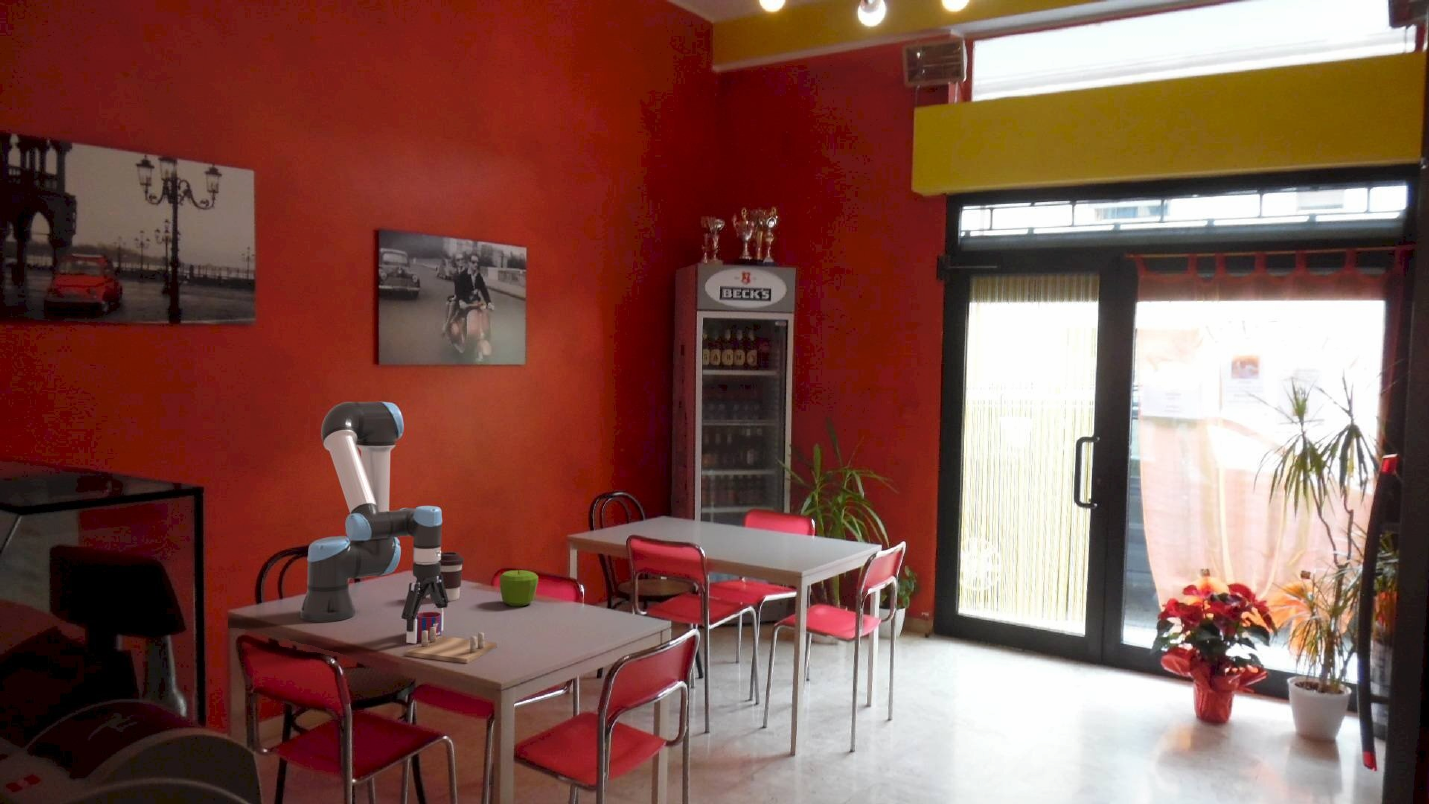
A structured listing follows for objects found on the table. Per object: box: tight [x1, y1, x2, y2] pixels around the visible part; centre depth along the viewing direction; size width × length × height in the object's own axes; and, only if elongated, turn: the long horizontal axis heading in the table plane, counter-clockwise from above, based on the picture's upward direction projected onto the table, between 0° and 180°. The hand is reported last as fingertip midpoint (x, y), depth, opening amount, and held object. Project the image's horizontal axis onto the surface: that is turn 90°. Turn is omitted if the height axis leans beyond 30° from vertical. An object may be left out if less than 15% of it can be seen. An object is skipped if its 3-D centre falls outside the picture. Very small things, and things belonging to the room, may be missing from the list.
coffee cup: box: [439, 551, 465, 602], centre depth 321 cm, size 10×10×15 cm
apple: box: [499, 569, 539, 607], centre depth 317 cm, size 12×12×11 cm
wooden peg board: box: [405, 627, 498, 664], centre depth 263 cm, size 18×16×5 cm
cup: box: [416, 611, 442, 643], centre depth 276 cm, size 7×10×7 cm
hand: (425, 636), depth 276 cm, fingers open, 13 cm apart
